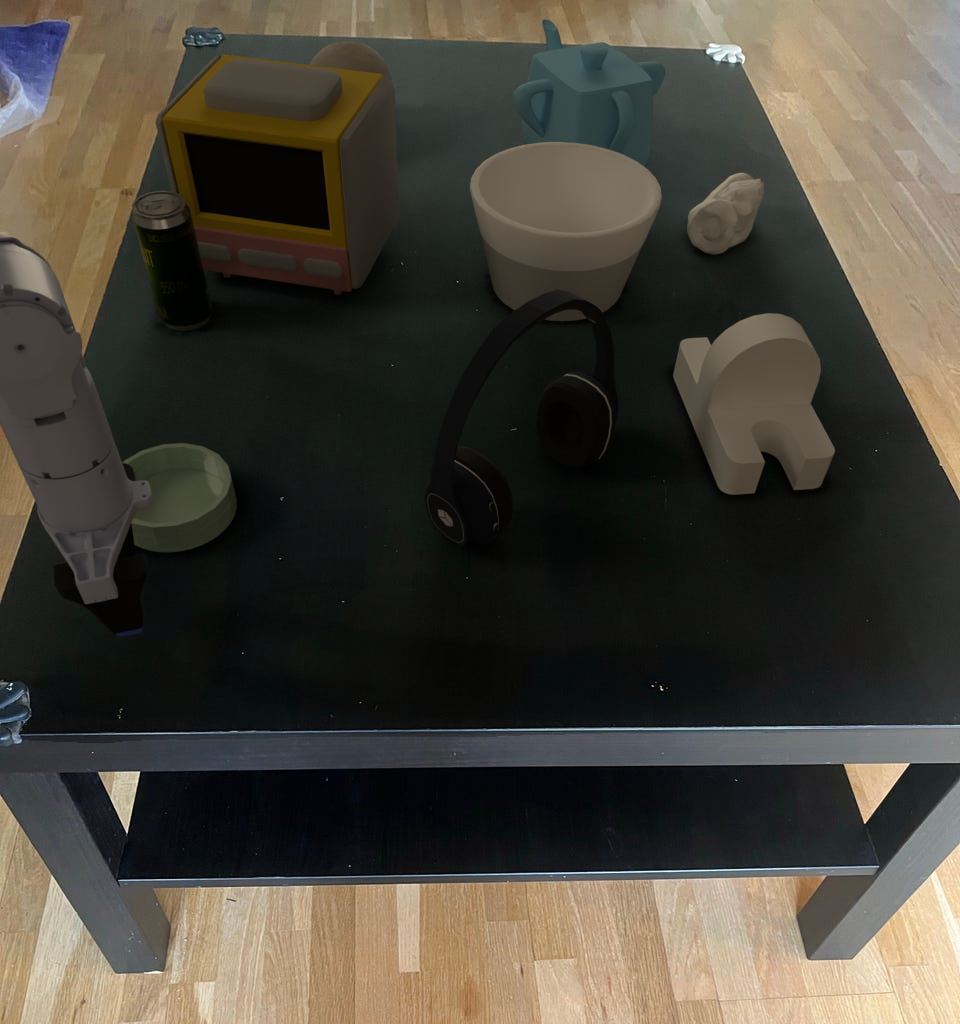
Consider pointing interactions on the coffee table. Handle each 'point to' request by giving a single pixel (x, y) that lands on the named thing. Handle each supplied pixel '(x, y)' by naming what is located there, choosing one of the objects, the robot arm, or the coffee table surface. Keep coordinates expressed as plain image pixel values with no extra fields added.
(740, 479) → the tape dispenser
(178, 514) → the celadon bowl
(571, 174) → the bowl
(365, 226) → the alarm clock
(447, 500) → the earphone
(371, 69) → the seashell
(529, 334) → the coffee table surface
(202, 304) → the beer can
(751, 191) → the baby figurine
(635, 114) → the teapot
